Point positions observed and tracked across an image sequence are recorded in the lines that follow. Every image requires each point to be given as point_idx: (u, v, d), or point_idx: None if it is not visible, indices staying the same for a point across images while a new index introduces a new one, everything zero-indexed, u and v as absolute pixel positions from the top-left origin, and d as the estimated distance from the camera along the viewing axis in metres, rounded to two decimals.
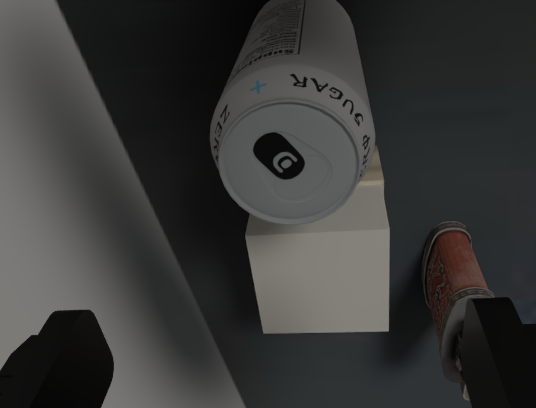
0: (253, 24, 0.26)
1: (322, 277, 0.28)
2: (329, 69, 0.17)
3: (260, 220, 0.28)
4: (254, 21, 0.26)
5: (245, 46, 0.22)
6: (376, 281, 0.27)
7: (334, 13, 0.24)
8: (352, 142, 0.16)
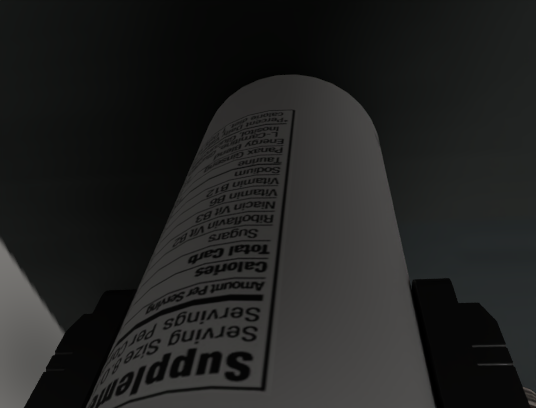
0: (202, 145, 0.14)
1: None
2: None
3: None
4: (206, 133, 0.15)
5: (168, 232, 0.11)
6: None
7: (348, 137, 0.13)
8: None
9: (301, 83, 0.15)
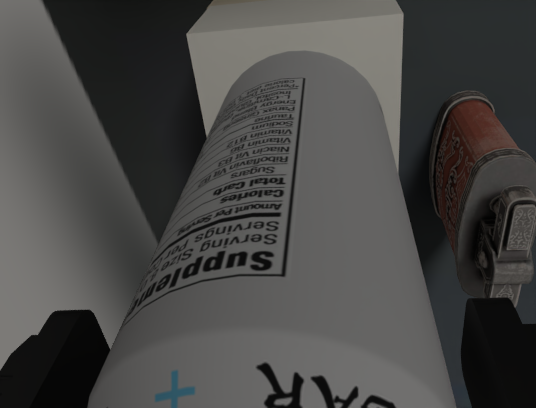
0: (219, 113, 0.15)
1: None
2: (359, 333, 0.07)
3: (212, 22, 0.19)
4: (223, 104, 0.16)
5: (192, 179, 0.12)
6: None
7: (354, 102, 0.14)
8: None
9: (310, 57, 0.16)
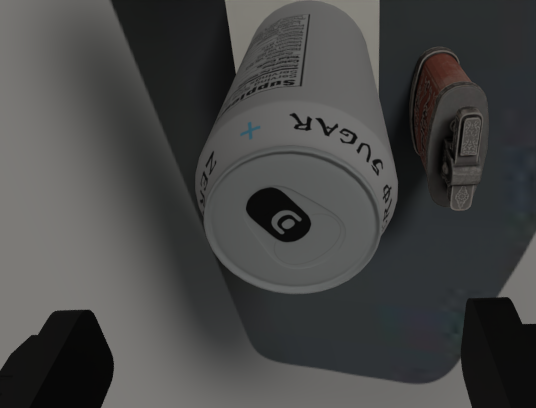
0: (250, 43, 0.22)
1: None
2: (339, 105, 0.13)
3: None
4: (252, 39, 0.23)
5: (239, 71, 0.19)
6: None
7: (343, 28, 0.21)
8: (371, 197, 0.13)
9: (313, 4, 0.23)
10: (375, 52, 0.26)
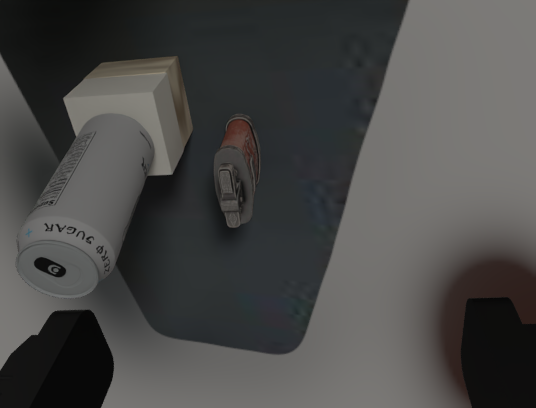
0: None
1: None
2: (68, 214, 0.29)
3: (77, 91, 0.41)
4: None
5: None
6: (154, 132, 0.41)
7: (114, 138, 0.36)
8: (83, 256, 0.29)
9: (105, 117, 0.38)
10: (160, 135, 0.41)
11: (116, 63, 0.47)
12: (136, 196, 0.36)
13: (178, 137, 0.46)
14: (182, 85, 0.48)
